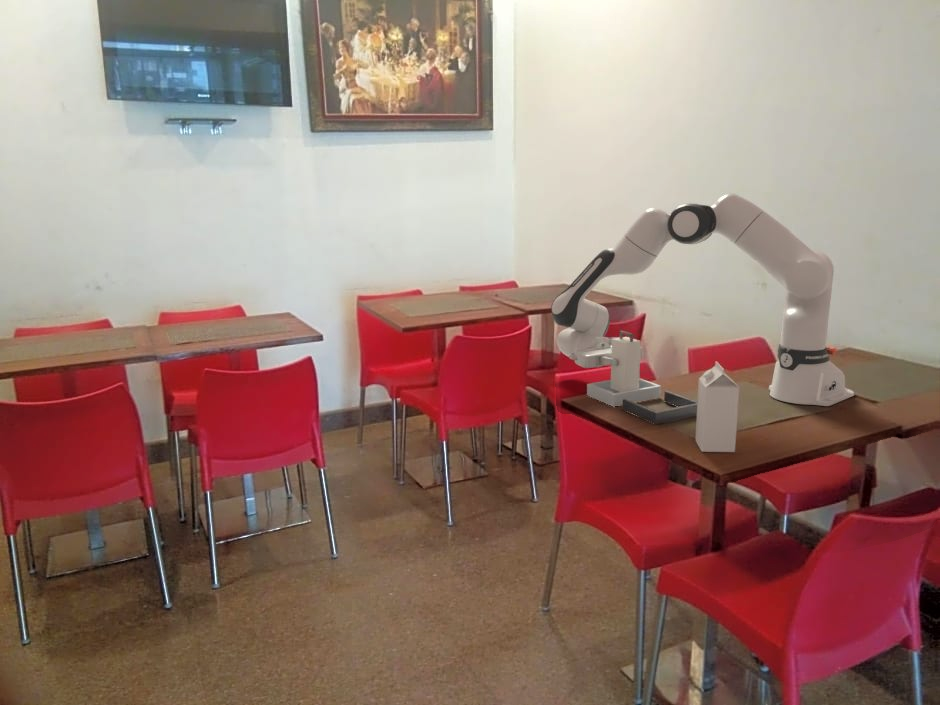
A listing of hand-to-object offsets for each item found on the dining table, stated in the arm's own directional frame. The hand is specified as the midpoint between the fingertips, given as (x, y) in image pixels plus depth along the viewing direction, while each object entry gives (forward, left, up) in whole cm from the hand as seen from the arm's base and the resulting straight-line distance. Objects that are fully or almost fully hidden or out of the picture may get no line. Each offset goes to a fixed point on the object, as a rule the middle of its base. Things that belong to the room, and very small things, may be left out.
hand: (626, 361), depth 195 cm
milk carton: (+6, +39, -10) cm, 41 cm away
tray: (0, -1, -10) cm, 10 cm away
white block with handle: (0, 0, -8) cm, 8 cm away
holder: (0, +14, -10) cm, 18 cm away
